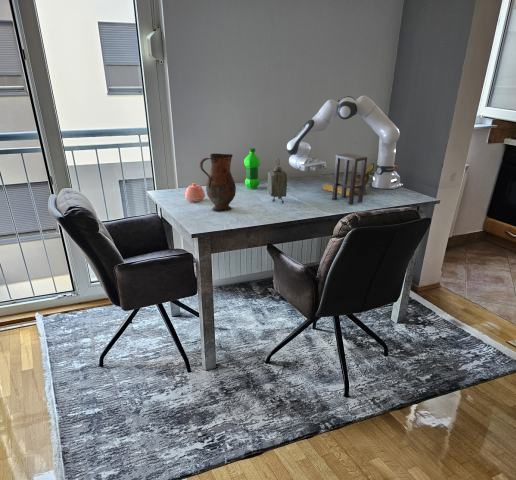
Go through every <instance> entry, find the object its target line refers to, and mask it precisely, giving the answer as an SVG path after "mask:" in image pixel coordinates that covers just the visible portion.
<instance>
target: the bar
mask: <svg viewBox="0 0 516 480" xmlns="http://www.w3.org/2000/svg"><path fill="white" fill-rule="evenodd" d="M322 189H323V190H324V191H329V192H332V193H333V185H332V184H328V183H325V184H323V185H322ZM337 194H340V195H342V187H341V186H338V191H337ZM349 194H350V189H347V190H346V197H349Z"/></svg>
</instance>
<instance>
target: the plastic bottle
mask: <svg viewBox="0 0 516 480" xmlns="http://www.w3.org/2000/svg"><path fill="white" fill-rule="evenodd" d="M248 152H249V154H248V155H247V156H246V157H245V158H244V159H243V164H244V166H245V180H244V184H245V186H246V187H247V188H248V189H249V190H254V189H257V188H258V187H259V186H260V179H259V167H260V164H261V159H260V158H259V156H258V155H256V154H255V152H256V148H255V147H250V148H248Z"/></svg>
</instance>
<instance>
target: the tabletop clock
mask: <svg viewBox="0 0 516 480" xmlns="http://www.w3.org/2000/svg"><path fill="white" fill-rule="evenodd" d="M276 161H277V162H276V166H275V167H274V168H273V169H272V170H270V171H268V172H267V193H268V195H269V196H270V197H273V198H272V199H271V201H272V202H275V201H276V199H275V198H278V200H281V204H284V203H285V201H284V200H283V198H284V197H287V190H288V175H287V172H286V170H284V169H282V167H281V166H280V158H278V157H277V158H276Z"/></svg>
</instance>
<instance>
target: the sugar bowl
mask: <svg viewBox="0 0 516 480" xmlns="http://www.w3.org/2000/svg"><path fill="white" fill-rule="evenodd" d="M184 197H185V199H186V200H187V201H189V202H193V203H197V202H203V200H204V199H205V198H206V193H205V190H204V188H203V187H202V186H201V185H200V184H197V183H196V182H193V183H192V184H190V185H188V186H187V188H186V190H185V193H184Z"/></svg>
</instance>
